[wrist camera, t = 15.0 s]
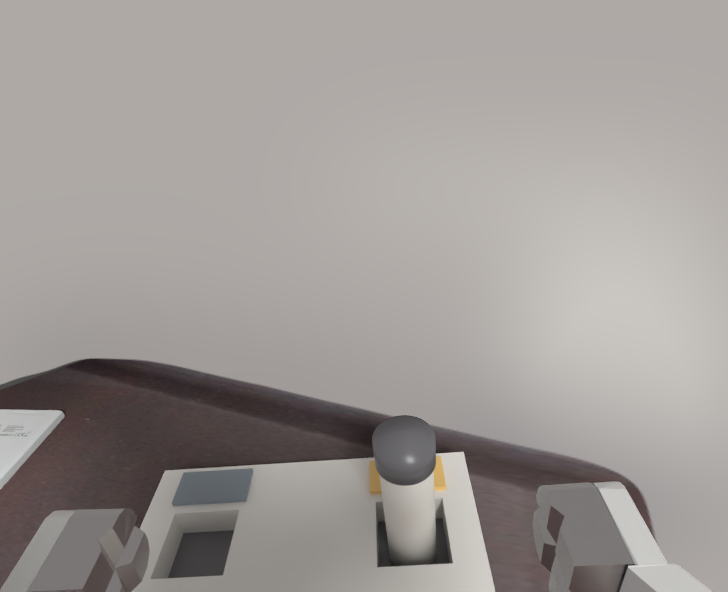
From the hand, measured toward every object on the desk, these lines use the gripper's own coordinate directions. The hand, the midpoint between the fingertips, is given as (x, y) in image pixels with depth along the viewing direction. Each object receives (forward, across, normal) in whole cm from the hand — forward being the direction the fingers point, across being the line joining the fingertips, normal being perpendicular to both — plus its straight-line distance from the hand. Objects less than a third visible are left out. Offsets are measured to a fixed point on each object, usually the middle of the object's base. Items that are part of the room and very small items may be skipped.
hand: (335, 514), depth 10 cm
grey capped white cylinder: (+16, -2, +27) cm, 31 cm away
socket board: (+17, +6, +27) cm, 33 cm away
